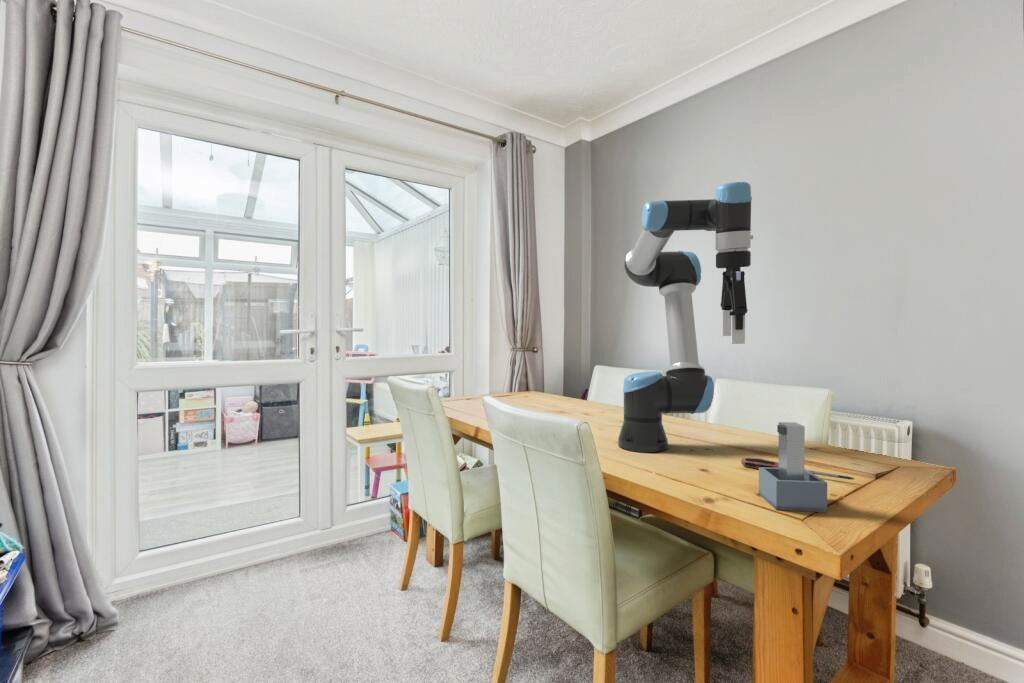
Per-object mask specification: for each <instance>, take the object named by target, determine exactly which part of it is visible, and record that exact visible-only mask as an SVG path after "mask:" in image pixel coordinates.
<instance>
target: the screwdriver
mask: <svg viewBox="0 0 1024 683" xmlns="http://www.w3.org/2000/svg"><path fill="white" fill-rule="evenodd" d="M740 463H741V464H742V465H743V467H747V468H751V469H755V470H759V467H769V468H779V461H773V460H768V459H764V458H760V457H743V458H741V459H740ZM807 470H808V471H810V472H811V473H813V474H814V475H816V476H817V475H818V476H823V477H829V478H836V479H844V480H855V478H854V477H852V476H847V475H840V474H834V473H829V472H822V471H817V470H810V469H807Z"/></svg>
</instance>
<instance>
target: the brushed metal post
mask: <svg viewBox="0 0 1024 683" xmlns="http://www.w3.org/2000/svg"><path fill="white" fill-rule="evenodd" d="M805 428H806V427H805V425H803V424H801V423H797V422H795V421H794V422H790V421H789V422H787V421H785V422H784V421H783V422H781V421H779V422H778V424H777V429H776V431H777V433H778V463H779V469H778V479H779V480H797V481H804V469H805V445H806V444H805V440H806V439H805V436H806V435H805V431H806V429H805Z"/></svg>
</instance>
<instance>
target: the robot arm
mask: <svg viewBox="0 0 1024 683" xmlns="http://www.w3.org/2000/svg"><path fill="white" fill-rule="evenodd" d="M751 188H752V187H751V184H750V183H749V182H746V181H736V182H728V183H724V184H723V183H722V184H720V185H719V186H717V187H716V189H715V196H714V198H713V199H685V200H682V199H681V200H680V199H678V200H663V199H659V200H654V201H647V202H646V203H645V204H644V206H643V208H642V213H641V214H642V215H641V224H642V228H643V230H642V232H641V234H640V236H639V238H638V240H637V241H636V244H635V246H634V248H632V249H631V250H630V251H628V253H627V254H626V257H625V259H624V264H623V266H624V269H625V273H626V274H627V277H628V278H629V279H630V280H631V281H632V282H634V283H635V284H637V285H639V286H642V287H649V288H650V287H651V288H653V287H654V288H657V287H658V293H659V294H660V295H661V296H663V298H664V307H665V308H664V309H665V319H666V330H667V344H668V353H669V365H670V366H669V367H668V368H667V369H666V370H665V375H663V373H662V372H661V371H642V372H636V373H632V374H628V375H627V376H625V378H624V380H623V389H622V392H623V422H622V426H621V429H620V431H619V435H618V437H617V438H618V440H617V442H618V443H617V445H618V447H619V448H621V449H623V450H626V451H630V452H637V453H639V452H640V453H659V452H664V451H667V450H668V447H669V441H668V437H667V435H666V431H665V428H664V424H663V414H691V415H693V414H704V413H707V411H709V410H710V408H711V407H712V403H713V401H714V394H715V393H714V391H715V385H714V381H713V378H712V377H711V376H710V375H706V370H705V368H704V367H703V366H701V364H700V362H699V352H698V351H699V350H698V344H697V343H698V342H697V335H696V333H697V332H696V325H695V312H694V304H693V303H694V302H693V293H694V292H695V291H696V289H697V286H699V284H700V283H701V280H702V265H701V262H700V259H699V257H698V256H697V254H695V253H694V252H693V251H683V250H678V251H663V249H664V247H665V246H666V245H667V243H668V241H669V240H670V239H671V236H672V235H673V234H674V232H676V231H678V232H679V231H703V230H704V231H706V232H715V250H716V251H717V252H718V253H716V254H715V267H716V269H725V271H722V273H721V274H722V284H721V286H722V287H721V297H720V300H721V302H720V304H719V305H720V308H721V310H722V311H721V335H722V337H730V338H731V344H733V345H740V344H741V345H742V344H743V345H744V344H745V343H746V314H747V313H748V304H747V294H746V282H745V275H746V274H745V273H746V272H745V271H744V270H741V268H748V267H751V263H752V262H751V256H752V255H751V251H750V250H748V249H750V248H751V240H753V239H754V235H752V234H751V231H752V230H751V227H752V226H751V225H752V200H753V197H752V189H751Z"/></svg>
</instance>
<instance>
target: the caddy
mask: <svg viewBox="0 0 1024 683" xmlns="http://www.w3.org/2000/svg"><path fill="white" fill-rule="evenodd" d="M778 469H779V468H769V467H759V469H758V495H760V497H762V498H763V499H764V500H765V501H766V502H767V503H768V504H769V505H770V506H771V507H772V508H773V509H775V510H776V511H788V510H803V511H802V512H813V511H815V512H818V513H821V512H822V513H828V482H827V481H825V480H824V479H823V478H820V477H819V475H818V476H817V475H816V474H813V473H811V472H810V471H808V470H809V469H806V468H804V481H797V480H779V479H778Z"/></svg>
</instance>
